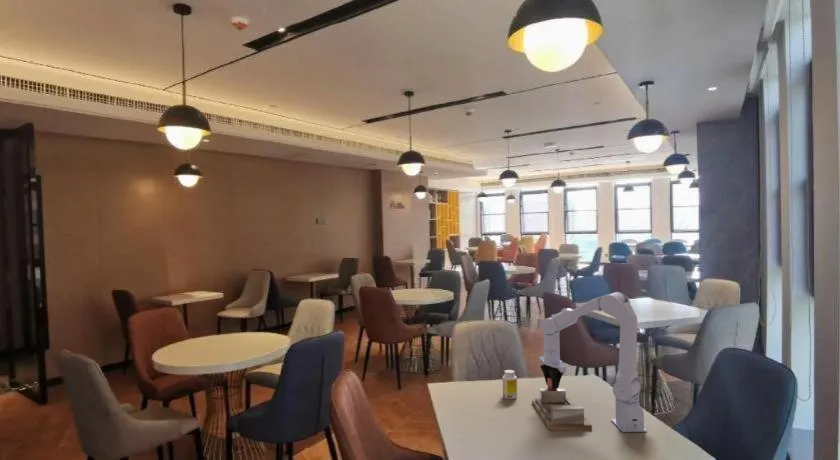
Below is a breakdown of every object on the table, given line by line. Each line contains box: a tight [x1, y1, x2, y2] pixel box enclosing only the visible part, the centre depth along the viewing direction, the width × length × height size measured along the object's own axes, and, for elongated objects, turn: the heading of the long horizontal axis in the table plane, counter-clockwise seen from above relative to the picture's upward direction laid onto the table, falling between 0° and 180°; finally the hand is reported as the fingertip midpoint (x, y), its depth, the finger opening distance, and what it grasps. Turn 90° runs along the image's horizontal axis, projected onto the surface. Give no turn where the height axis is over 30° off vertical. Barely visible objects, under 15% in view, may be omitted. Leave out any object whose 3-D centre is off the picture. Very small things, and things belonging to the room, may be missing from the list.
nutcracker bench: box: [531, 397, 593, 431], centre depth 166 cm, size 24×14×6 cm, turn 0°
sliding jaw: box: [538, 376, 567, 403], centre depth 175 cm, size 4×9×9 cm, turn 90°
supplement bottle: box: [502, 369, 518, 400], centre depth 185 cm, size 6×6×10 cm
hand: (552, 386), depth 175 cm, fingers closed on sliding jaw, 3 cm apart
